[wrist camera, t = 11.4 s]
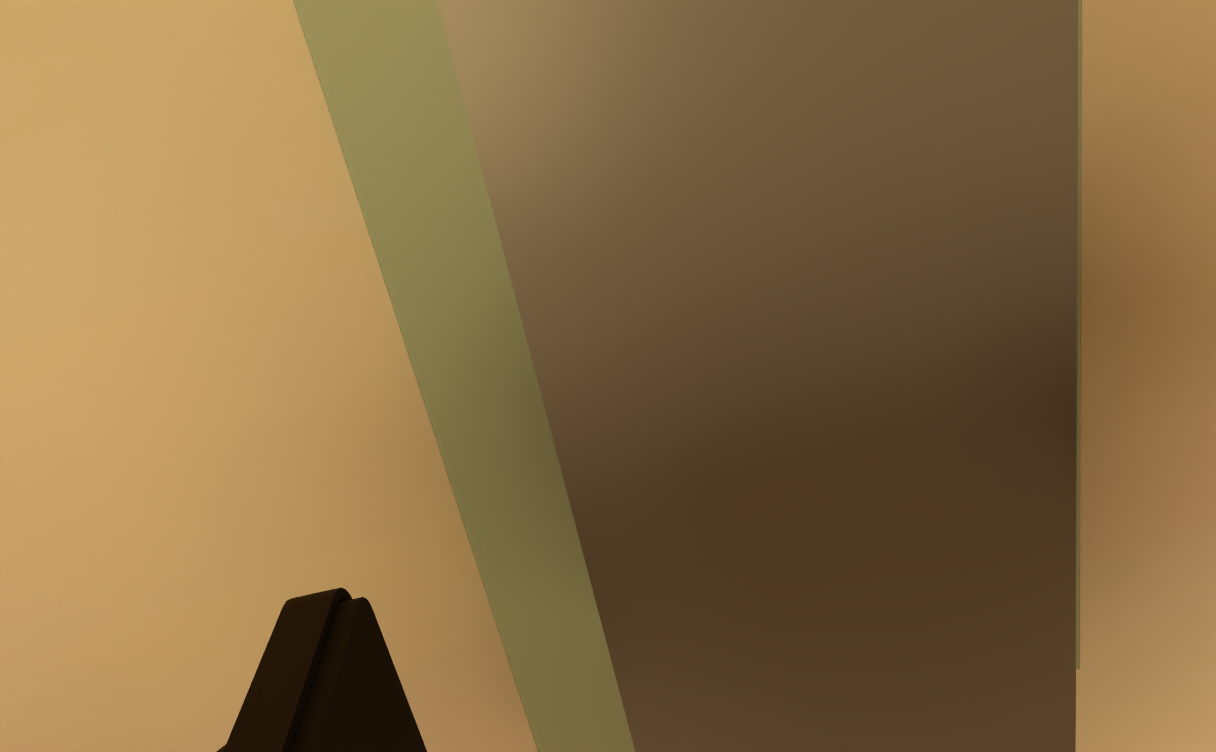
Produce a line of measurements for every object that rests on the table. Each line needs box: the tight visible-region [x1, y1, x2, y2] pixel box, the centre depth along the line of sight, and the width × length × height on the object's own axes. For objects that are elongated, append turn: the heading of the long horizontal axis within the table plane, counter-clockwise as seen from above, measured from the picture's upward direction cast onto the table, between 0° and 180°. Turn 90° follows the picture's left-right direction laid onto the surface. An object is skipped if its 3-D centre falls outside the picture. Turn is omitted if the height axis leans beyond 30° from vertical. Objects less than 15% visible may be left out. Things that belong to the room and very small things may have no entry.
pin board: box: [293, 0, 1082, 752], centre depth 16 cm, size 20×12×5 cm, turn 12°
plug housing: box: [437, 0, 1078, 752], centre depth 14 cm, size 12×6×6 cm, turn 12°
